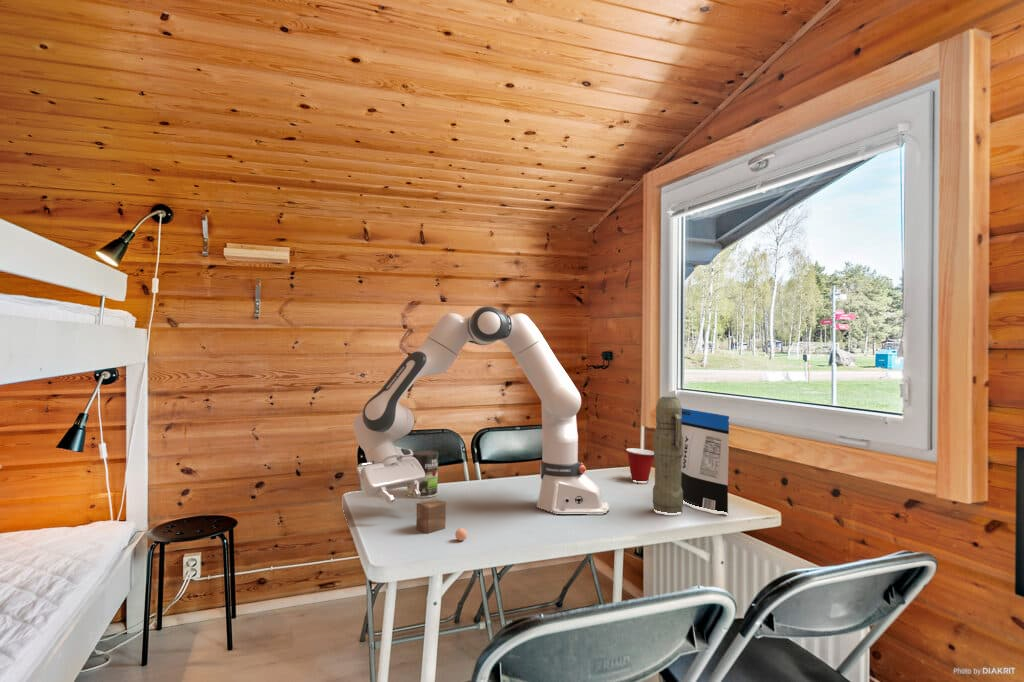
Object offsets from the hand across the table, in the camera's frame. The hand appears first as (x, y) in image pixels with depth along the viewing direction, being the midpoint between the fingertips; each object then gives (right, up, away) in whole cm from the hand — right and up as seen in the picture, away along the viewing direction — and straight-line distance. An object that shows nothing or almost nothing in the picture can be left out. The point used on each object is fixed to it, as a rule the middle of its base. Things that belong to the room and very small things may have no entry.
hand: (405, 499), depth 166 cm
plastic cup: (+78, -8, +53) cm, 95 cm away
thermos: (+78, -8, +14) cm, 79 cm away
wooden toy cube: (+8, -6, -7) cm, 12 cm away
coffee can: (0, -7, +30) cm, 31 cm away
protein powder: (+91, -8, +21) cm, 93 cm away
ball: (+17, -6, -16) cm, 24 cm away
